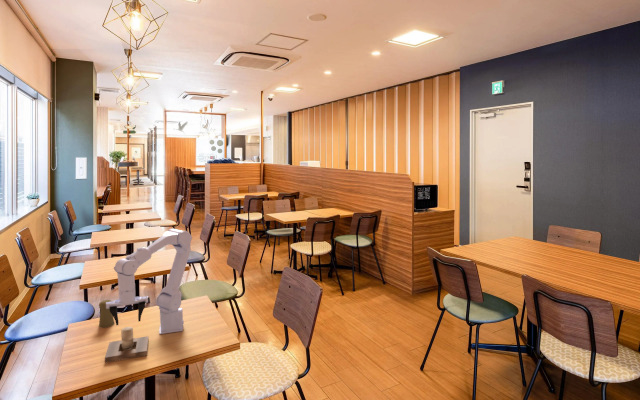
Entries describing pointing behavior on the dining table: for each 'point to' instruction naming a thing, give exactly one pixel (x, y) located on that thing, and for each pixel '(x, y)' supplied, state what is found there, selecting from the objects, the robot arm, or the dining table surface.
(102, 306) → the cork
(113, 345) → the walnut board
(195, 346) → the dining table surface
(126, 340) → the ash peg
